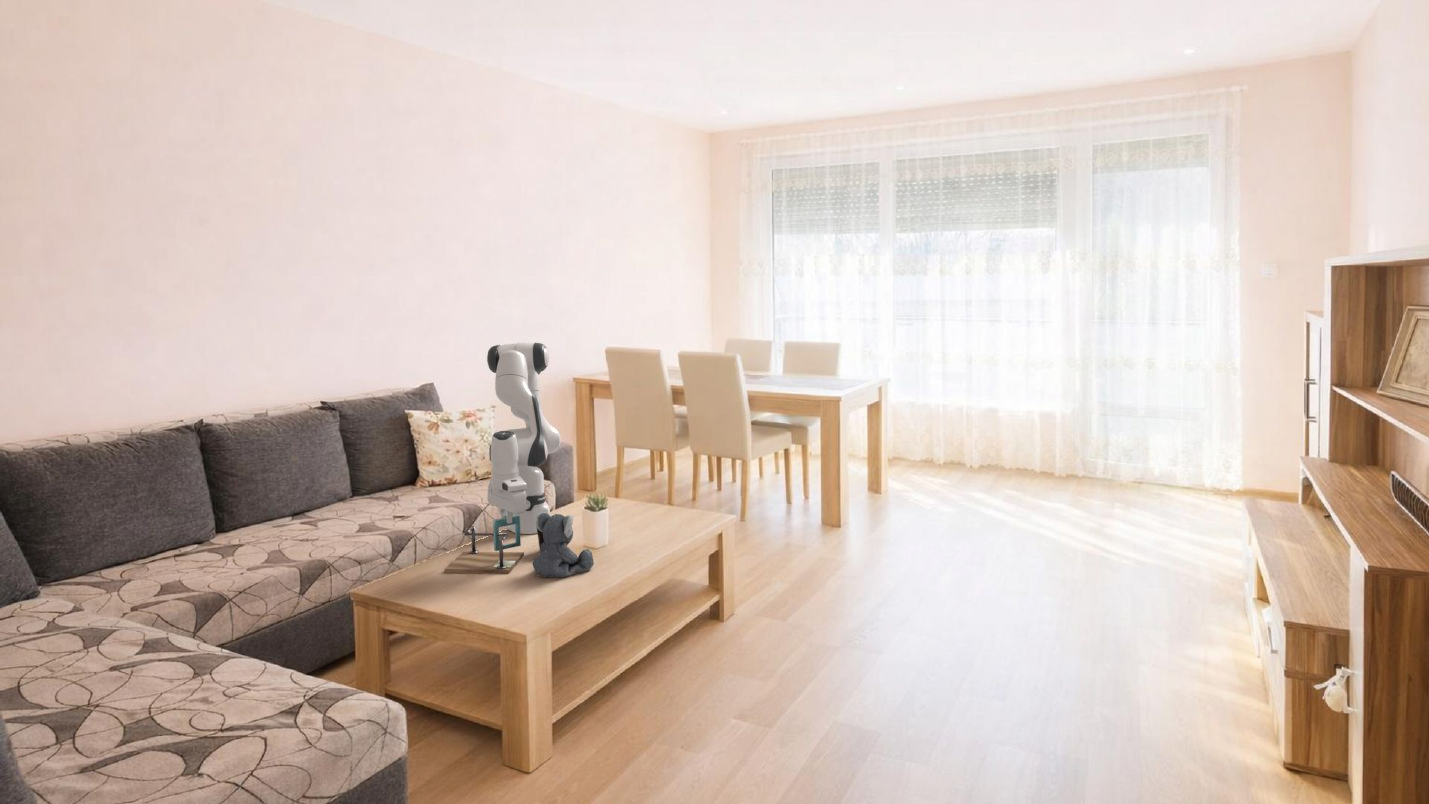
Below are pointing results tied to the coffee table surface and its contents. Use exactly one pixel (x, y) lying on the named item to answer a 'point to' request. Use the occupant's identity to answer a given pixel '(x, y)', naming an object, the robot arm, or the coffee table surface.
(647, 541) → the coffee table surface
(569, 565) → the koala plush
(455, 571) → the board
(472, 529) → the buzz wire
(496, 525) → the teal picture frame
